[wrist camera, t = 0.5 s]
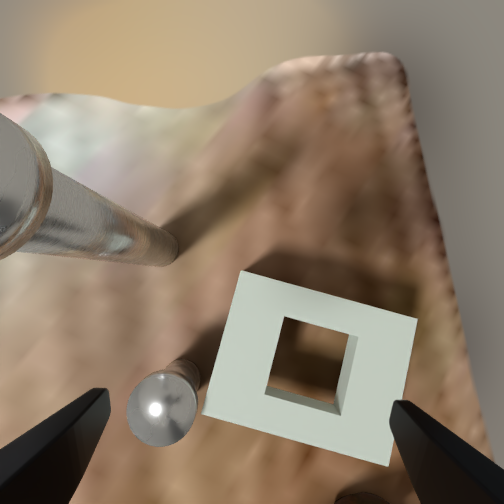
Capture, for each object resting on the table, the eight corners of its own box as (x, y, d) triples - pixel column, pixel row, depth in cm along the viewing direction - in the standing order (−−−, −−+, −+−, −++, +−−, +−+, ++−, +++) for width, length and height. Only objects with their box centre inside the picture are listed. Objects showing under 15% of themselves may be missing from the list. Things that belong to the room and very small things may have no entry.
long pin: (176, 279, 21) (-12, 287, 6) (128, 266, 21) (-186, 239, 6) (191, 231, 22) (52, 120, 6) (143, 218, 22) (-110, 76, 6)
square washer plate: (360, 429, 20) (388, 466, 16) (210, 387, 20) (201, 413, 16) (385, 311, 21) (417, 318, 17) (242, 271, 21) (240, 270, 17)
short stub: (199, 412, 20) (184, 455, 15) (148, 398, 20) (117, 436, 15) (214, 359, 21) (203, 384, 16) (164, 345, 21) (139, 366, 16)
